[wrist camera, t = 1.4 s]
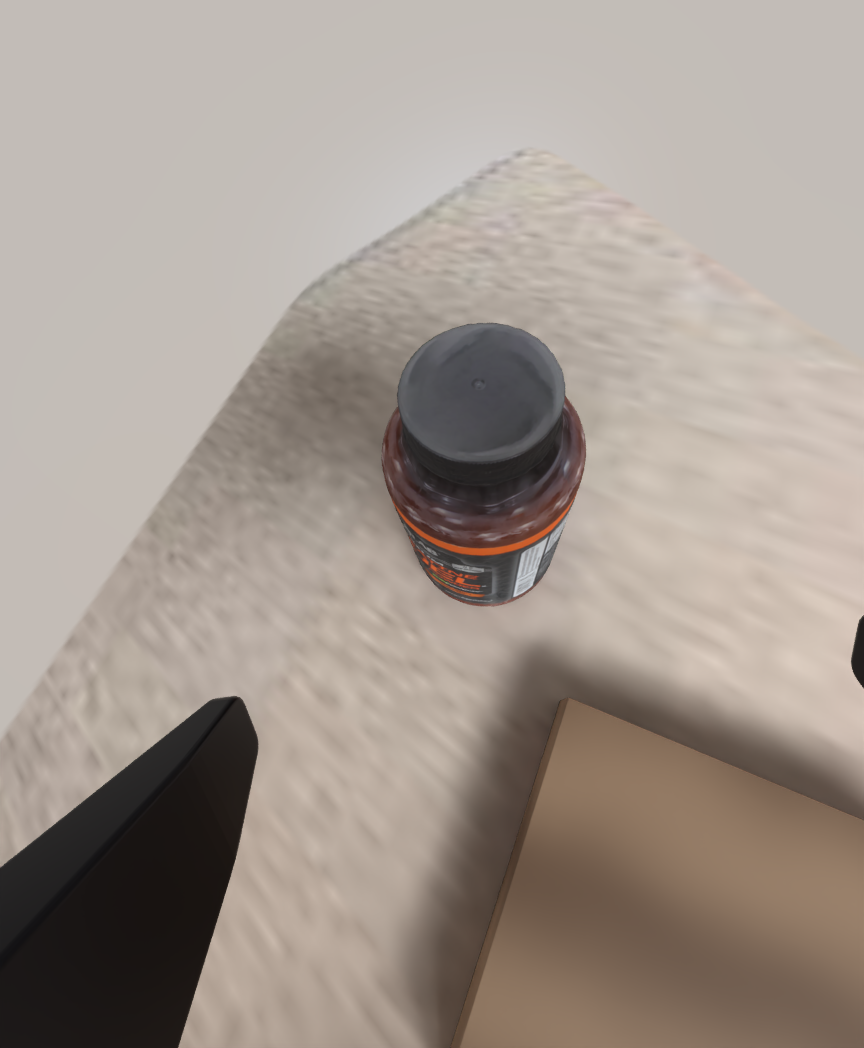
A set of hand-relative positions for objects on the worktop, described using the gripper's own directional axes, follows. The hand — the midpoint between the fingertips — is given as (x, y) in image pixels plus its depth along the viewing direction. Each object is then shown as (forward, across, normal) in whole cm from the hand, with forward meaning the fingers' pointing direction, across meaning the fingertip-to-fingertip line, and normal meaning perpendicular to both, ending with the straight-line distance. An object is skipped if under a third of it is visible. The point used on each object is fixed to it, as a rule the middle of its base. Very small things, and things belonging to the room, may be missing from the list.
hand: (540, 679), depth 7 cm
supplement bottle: (+14, 0, +5) cm, 15 cm away
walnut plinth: (+4, -4, +15) cm, 16 cm away
